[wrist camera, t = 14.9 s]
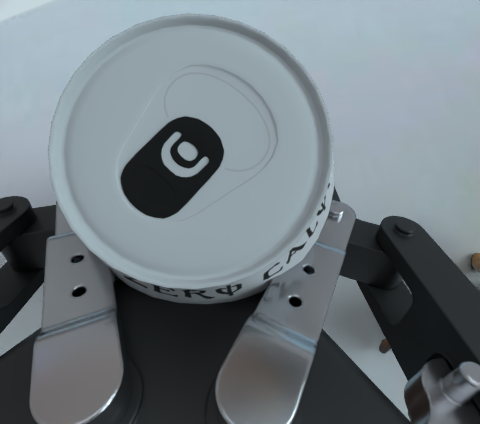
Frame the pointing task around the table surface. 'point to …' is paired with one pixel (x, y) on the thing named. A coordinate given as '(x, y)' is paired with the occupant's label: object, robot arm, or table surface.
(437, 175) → the table surface
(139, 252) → the energy drink can
